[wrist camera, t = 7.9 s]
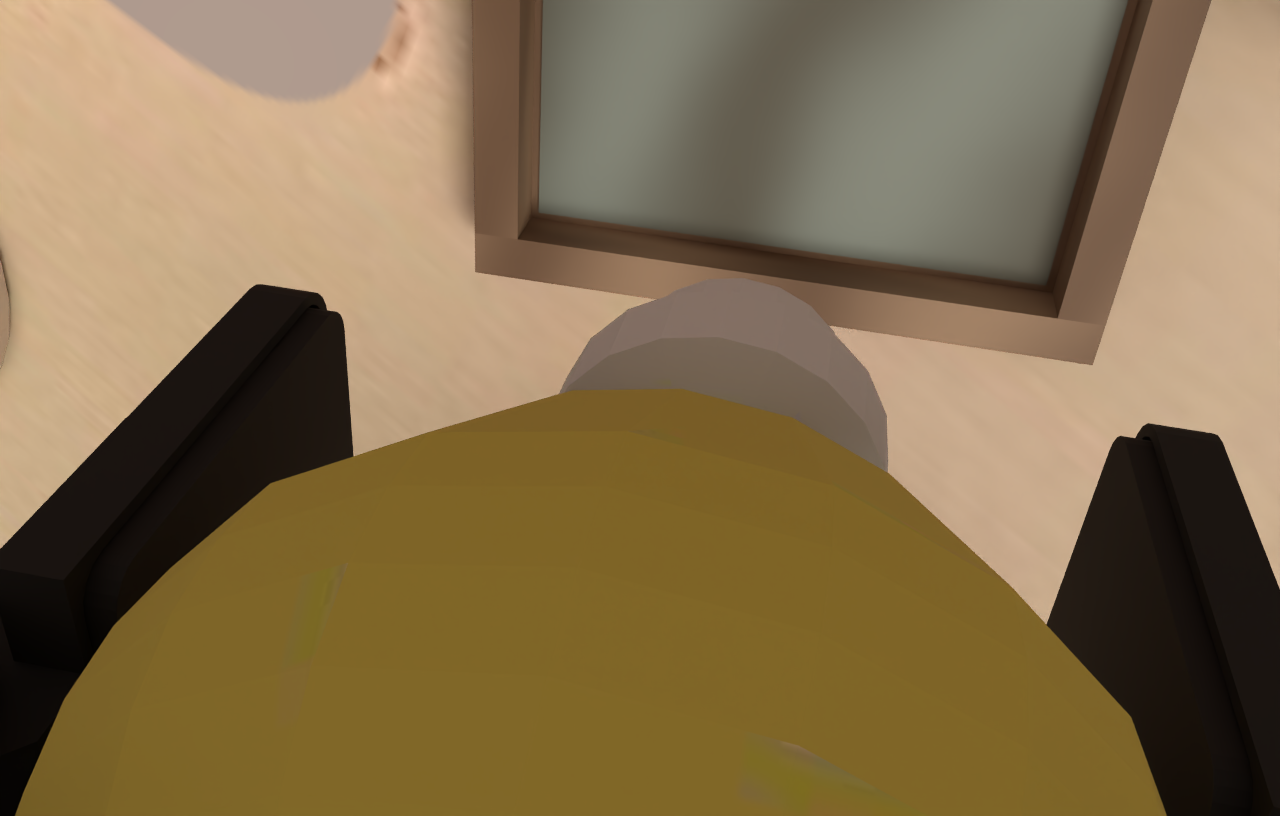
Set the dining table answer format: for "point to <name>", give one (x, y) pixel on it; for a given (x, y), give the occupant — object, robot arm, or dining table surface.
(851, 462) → the light bulb
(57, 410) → the dining table surface
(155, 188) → the dining table surface
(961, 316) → the tray
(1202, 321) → the dining table surface
